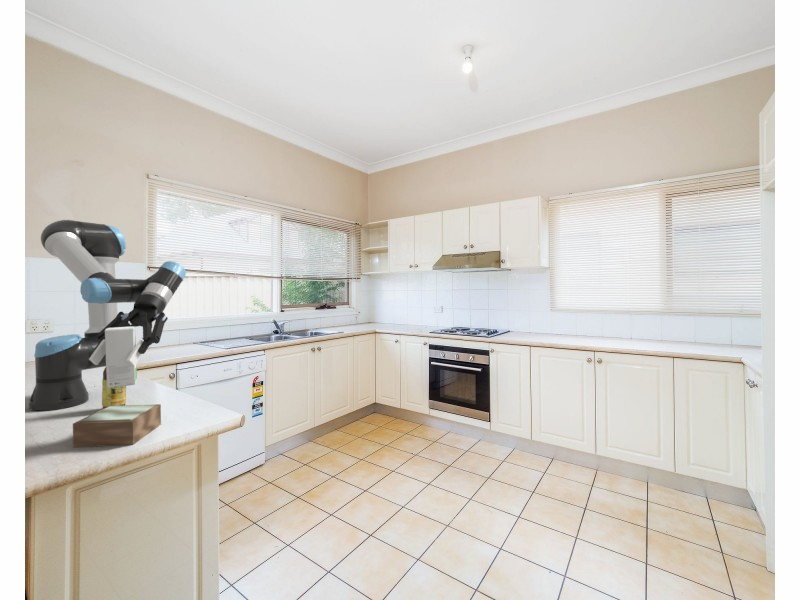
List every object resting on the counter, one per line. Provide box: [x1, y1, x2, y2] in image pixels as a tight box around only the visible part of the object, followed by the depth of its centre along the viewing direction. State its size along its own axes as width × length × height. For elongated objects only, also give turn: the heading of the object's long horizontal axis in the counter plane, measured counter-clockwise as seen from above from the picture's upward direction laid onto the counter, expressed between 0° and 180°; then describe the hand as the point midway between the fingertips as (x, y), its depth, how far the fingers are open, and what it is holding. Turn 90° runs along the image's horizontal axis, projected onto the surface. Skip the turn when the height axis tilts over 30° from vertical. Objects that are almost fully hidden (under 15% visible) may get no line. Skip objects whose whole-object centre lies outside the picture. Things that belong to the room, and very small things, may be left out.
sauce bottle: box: [101, 366, 127, 410], centre depth 121 cm, size 6×6×20 cm
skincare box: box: [105, 326, 138, 388], centre depth 100 cm, size 8×7×16 cm
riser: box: [72, 403, 162, 448], centre depth 100 cm, size 14×14×6 cm
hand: (112, 362), depth 97 cm, fingers closed on skincare box, 10 cm apart
